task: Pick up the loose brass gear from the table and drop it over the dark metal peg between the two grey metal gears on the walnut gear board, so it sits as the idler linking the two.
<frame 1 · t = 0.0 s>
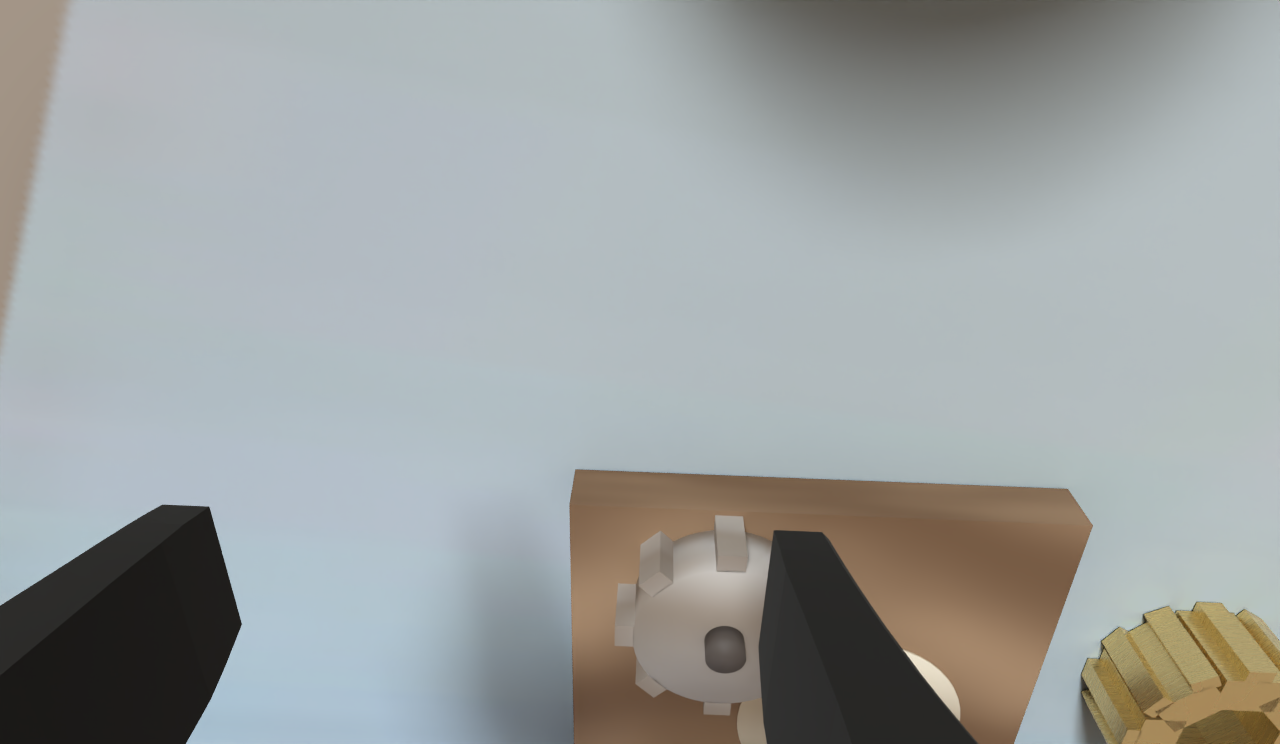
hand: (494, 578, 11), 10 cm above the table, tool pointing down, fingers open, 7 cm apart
brass gear: (1177, 670, 25), on the table
gear board: (789, 677, 26), on the table
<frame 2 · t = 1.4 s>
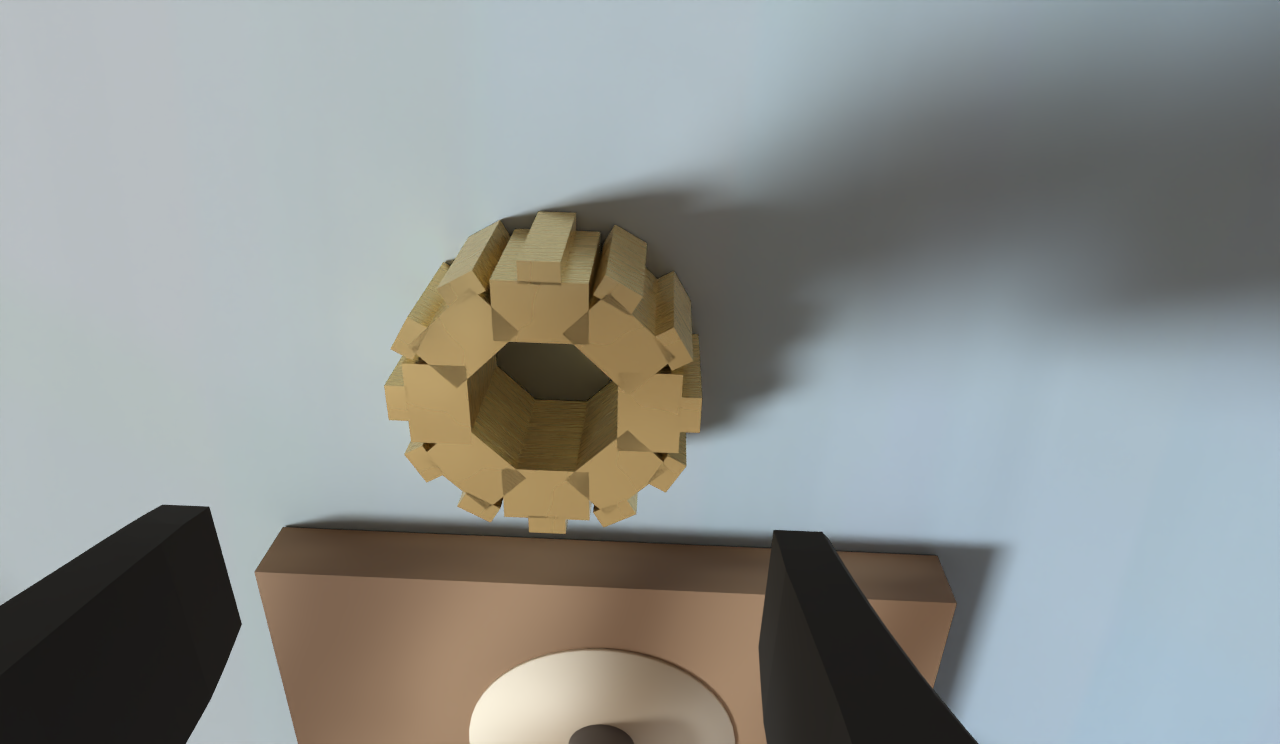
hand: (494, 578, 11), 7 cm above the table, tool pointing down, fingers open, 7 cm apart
brass gear: (560, 344, 17), on the table
gear board: (605, 731, 22), on the table
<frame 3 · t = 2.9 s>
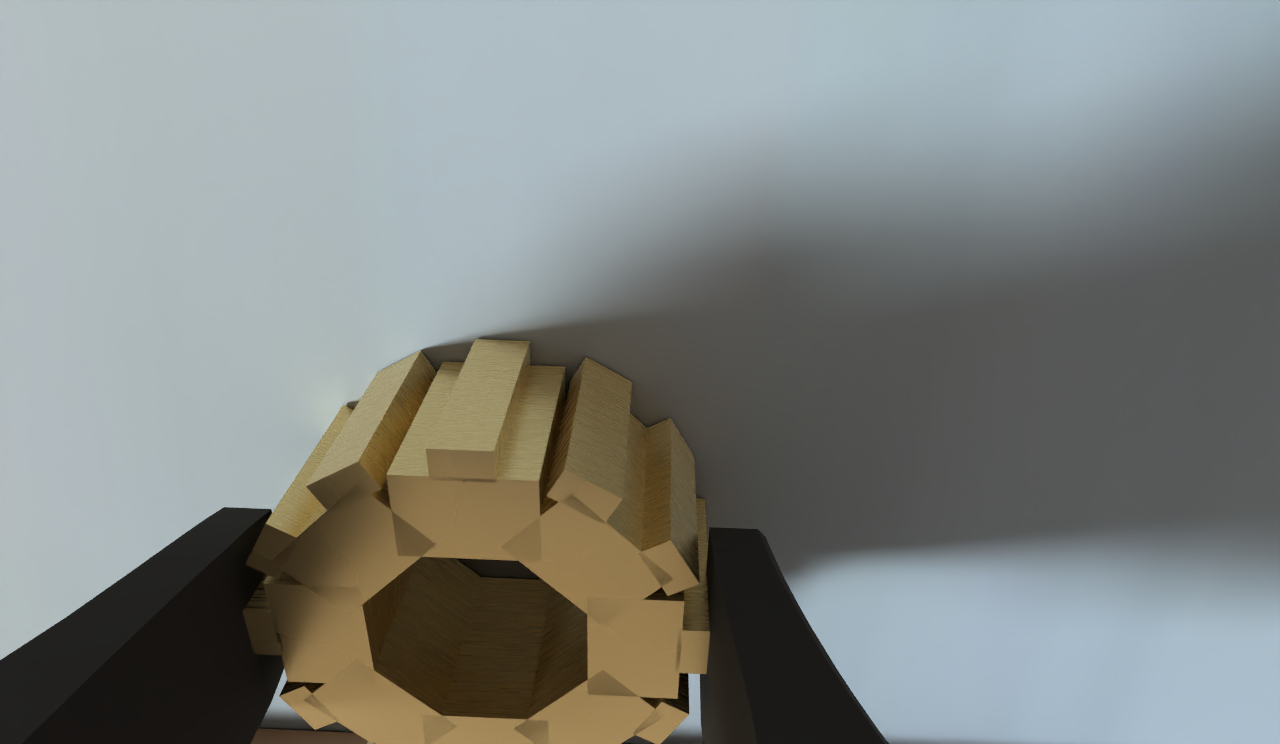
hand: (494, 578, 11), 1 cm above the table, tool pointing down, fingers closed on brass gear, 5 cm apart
brass gear: (512, 510, 12), on the table, touching gripper
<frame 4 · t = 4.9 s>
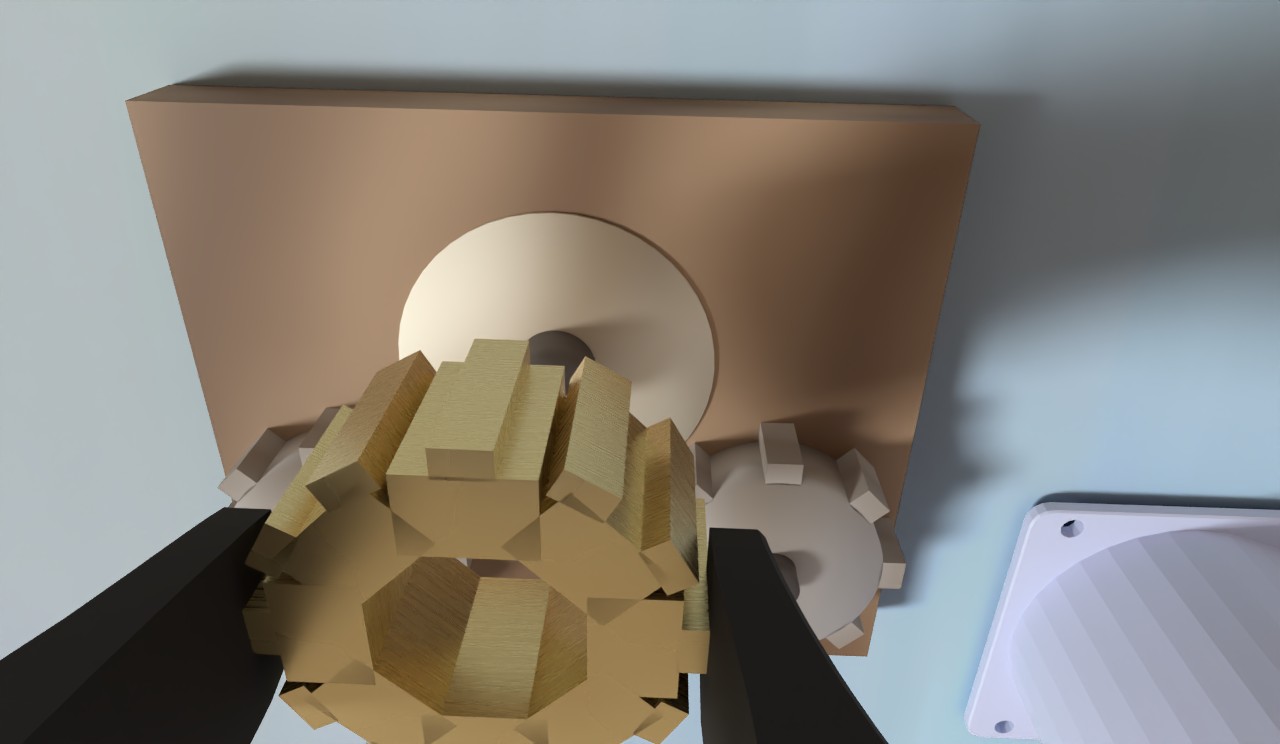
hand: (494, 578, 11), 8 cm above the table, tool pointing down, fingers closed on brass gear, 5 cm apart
brass gear: (512, 510, 12), point 7 cm above the table, touching gripper
gear board: (566, 390, 19), on the table
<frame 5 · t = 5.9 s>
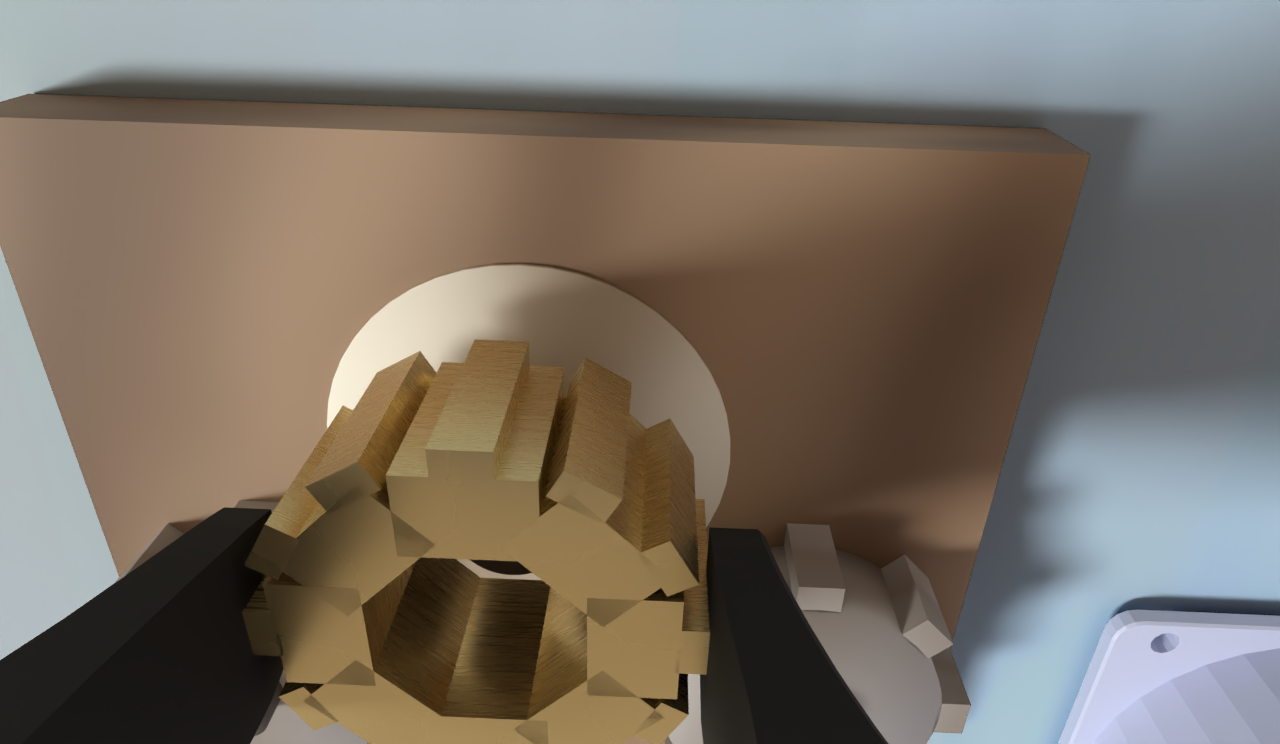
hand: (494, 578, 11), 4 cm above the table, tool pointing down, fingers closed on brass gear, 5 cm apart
brass gear: (511, 510, 12), point 3 cm above the table, touching gripper
gear board: (544, 472, 16), on the table
when the fingers open (4 cm above the table, at t = 7.0 s): brass gear drops 1 cm, resting on gear board.
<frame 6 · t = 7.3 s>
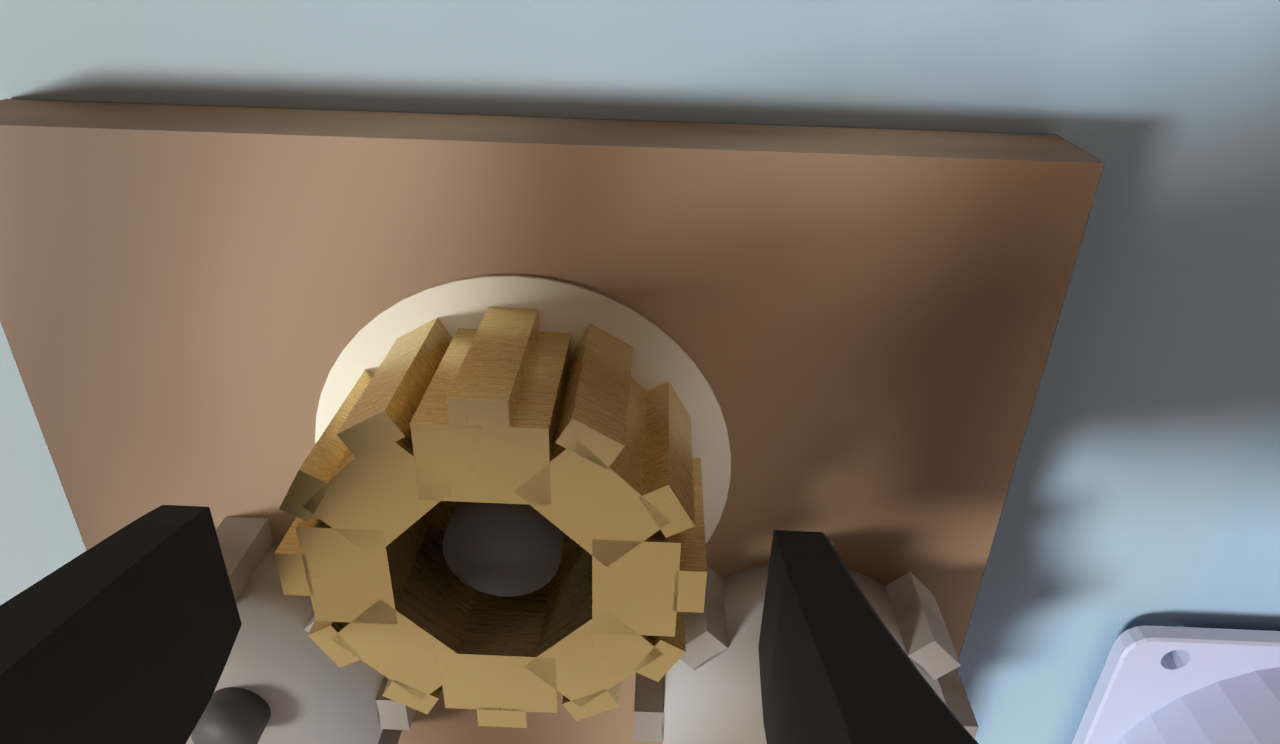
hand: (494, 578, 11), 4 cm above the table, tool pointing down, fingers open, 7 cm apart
brass gear: (521, 469, 13), point 2 cm above the table, touching gear board
gear board: (540, 486, 15), on the table
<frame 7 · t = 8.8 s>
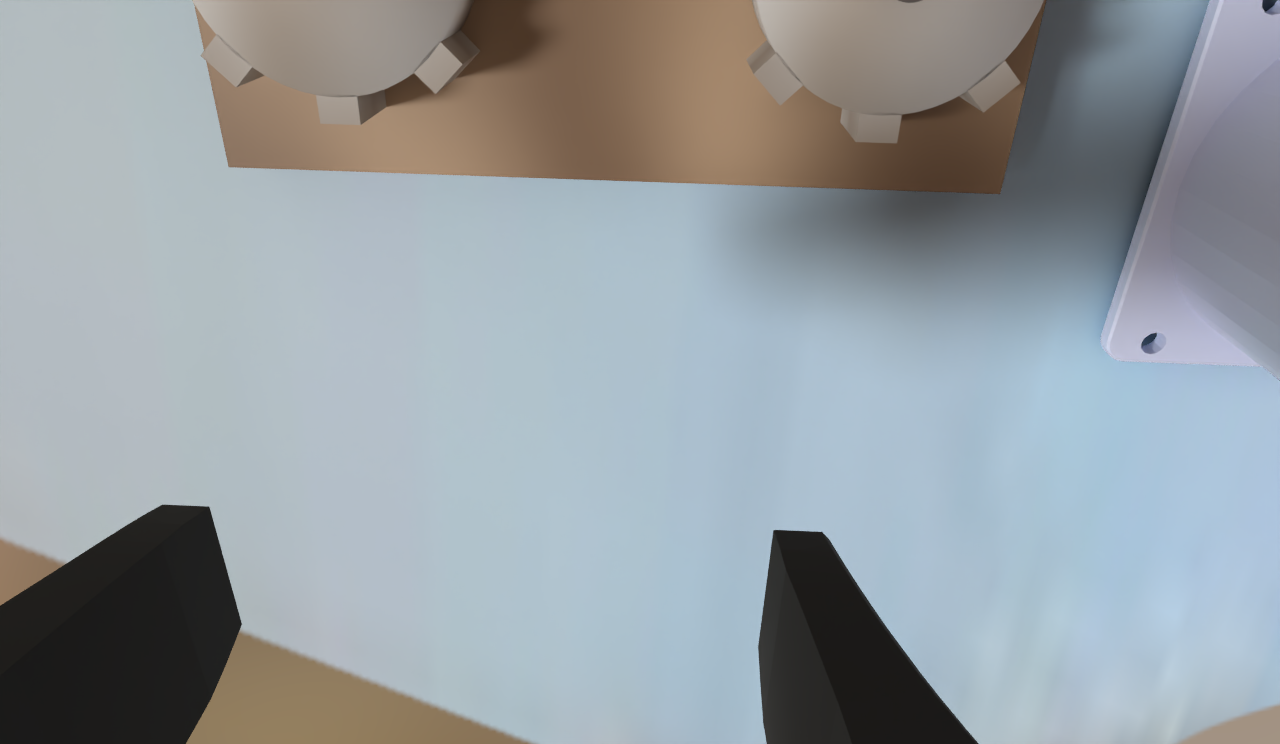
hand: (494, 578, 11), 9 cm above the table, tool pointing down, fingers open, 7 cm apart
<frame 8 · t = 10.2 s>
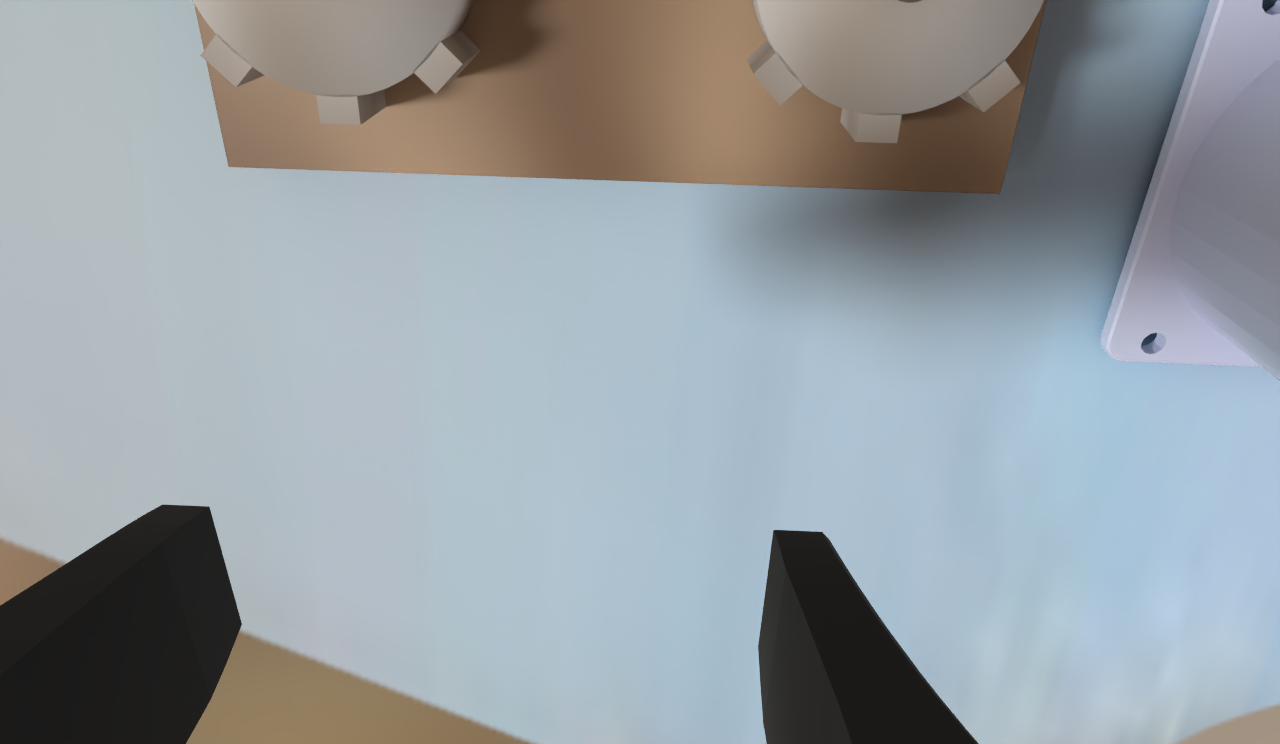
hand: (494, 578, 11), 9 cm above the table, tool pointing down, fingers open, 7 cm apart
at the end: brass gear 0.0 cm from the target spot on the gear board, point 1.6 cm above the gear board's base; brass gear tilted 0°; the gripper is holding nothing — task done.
